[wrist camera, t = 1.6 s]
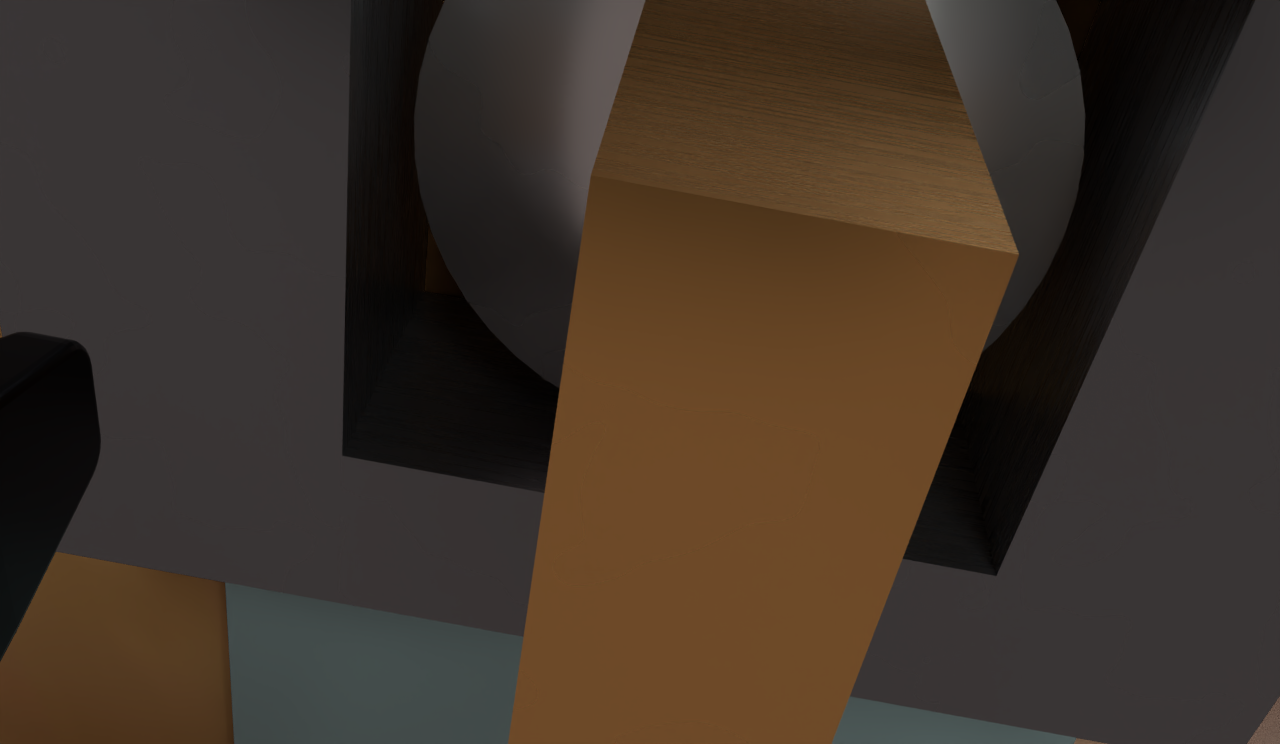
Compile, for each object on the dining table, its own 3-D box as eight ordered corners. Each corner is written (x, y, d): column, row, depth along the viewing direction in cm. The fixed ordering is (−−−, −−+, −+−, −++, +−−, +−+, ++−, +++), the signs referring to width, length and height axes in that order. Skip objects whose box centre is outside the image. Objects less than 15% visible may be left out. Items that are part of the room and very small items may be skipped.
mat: (1127, 604, 20) (1136, 630, 19) (946, 936, 25) (949, 963, 25) (232, 439, 19) (219, 461, 19) (249, 810, 25) (239, 835, 24)
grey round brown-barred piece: (1121, -163, 13) (1561, 150, 6) (935, 359, 17) (1056, 937, 10) (497, -281, 13) (144, -114, 6) (453, 270, 17) (211, 786, 10)
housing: (1669, -392, 12) (2021, -383, 8) (1151, 560, 19) (1231, 765, 16) (80, -695, 12) (-198, -810, 8) (168, 379, 19) (39, 548, 16)
